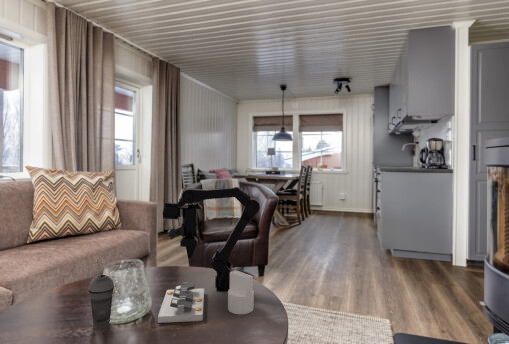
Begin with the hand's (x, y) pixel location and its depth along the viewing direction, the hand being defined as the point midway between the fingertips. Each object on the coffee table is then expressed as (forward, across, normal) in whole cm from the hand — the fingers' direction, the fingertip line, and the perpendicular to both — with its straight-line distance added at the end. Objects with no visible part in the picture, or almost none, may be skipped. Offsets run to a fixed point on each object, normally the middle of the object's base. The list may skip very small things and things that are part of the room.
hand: (189, 258), depth 128 cm
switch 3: (+8, +24, -1) cm, 25 cm away
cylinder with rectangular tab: (+12, +20, +19) cm, 30 cm away
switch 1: (+8, +10, -1) cm, 13 cm away
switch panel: (+12, +17, -1) cm, 21 cm away
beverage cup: (+12, +26, -25) cm, 39 cm away
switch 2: (+8, +17, -1) cm, 18 cm away
